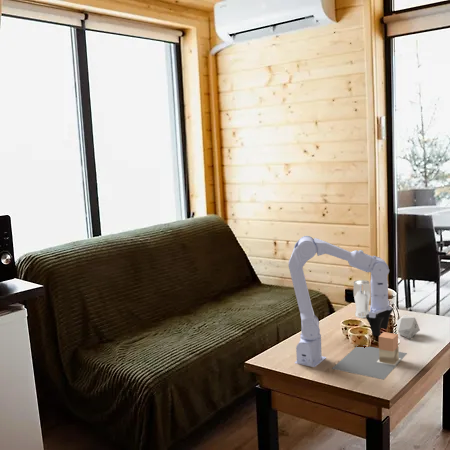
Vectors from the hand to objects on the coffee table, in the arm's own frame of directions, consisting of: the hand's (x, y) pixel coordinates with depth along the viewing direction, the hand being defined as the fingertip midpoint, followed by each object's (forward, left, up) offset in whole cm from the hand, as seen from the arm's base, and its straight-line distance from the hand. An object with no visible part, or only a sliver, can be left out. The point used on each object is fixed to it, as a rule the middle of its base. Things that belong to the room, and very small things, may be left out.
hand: (379, 331), depth 192 cm
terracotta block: (0, -3, -5) cm, 6 cm away
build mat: (-3, +2, -10) cm, 11 cm away
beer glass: (+42, +23, -11) cm, 49 cm away
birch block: (0, -3, -10) cm, 10 cm away
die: (+27, -1, -11) cm, 29 cm away
